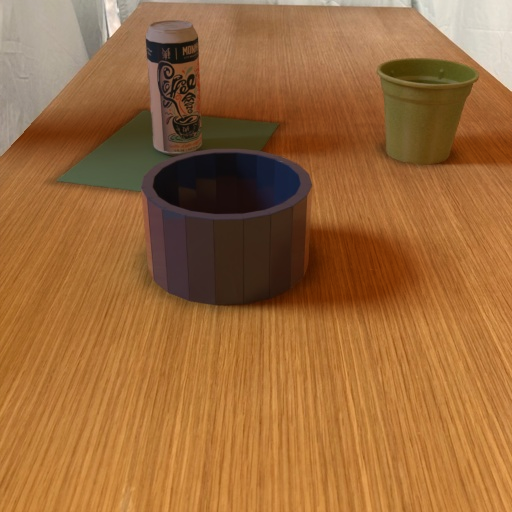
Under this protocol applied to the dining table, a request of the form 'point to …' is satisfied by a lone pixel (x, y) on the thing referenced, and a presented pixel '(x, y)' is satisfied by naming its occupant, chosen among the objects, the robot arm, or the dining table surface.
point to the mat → (146, 156)
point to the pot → (227, 225)
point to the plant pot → (423, 106)
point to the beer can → (174, 86)
